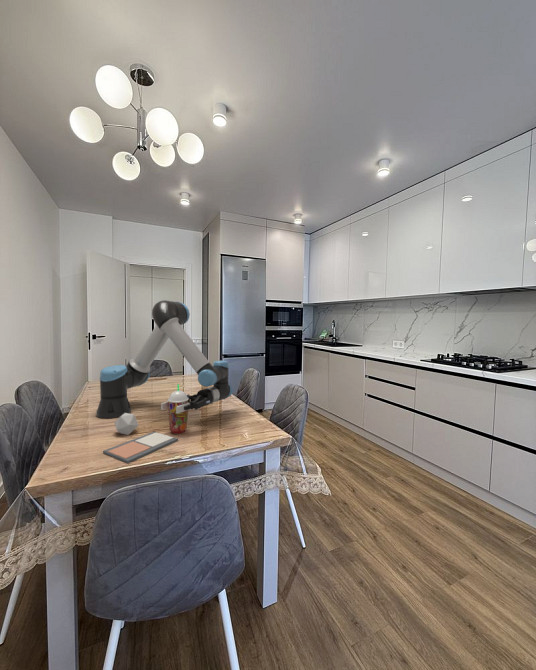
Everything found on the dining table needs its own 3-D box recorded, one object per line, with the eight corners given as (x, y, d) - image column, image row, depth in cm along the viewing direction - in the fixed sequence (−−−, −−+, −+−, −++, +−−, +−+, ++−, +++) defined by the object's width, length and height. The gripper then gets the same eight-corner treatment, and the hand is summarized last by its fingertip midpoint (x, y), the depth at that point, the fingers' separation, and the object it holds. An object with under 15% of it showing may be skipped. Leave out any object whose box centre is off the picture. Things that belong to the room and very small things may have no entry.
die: (142, 432, 119) (139, 411, 124) (132, 429, 112) (129, 406, 116) (123, 440, 119) (121, 418, 123) (112, 437, 111) (109, 414, 115)
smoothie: (177, 437, 114) (177, 387, 113) (163, 432, 118) (163, 384, 117) (192, 430, 121) (192, 383, 120) (179, 426, 125) (179, 381, 124)
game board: (103, 453, 99) (102, 450, 99) (154, 433, 117) (154, 430, 117) (128, 463, 92) (127, 460, 92) (178, 440, 110) (178, 438, 110)
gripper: (225, 407, 129) (187, 422, 110) (191, 400, 140) (152, 413, 120) (225, 391, 129) (187, 403, 109) (191, 385, 140) (151, 395, 120)
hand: (169, 408), depth 115 cm, fingers closed on smoothie, 8 cm apart
